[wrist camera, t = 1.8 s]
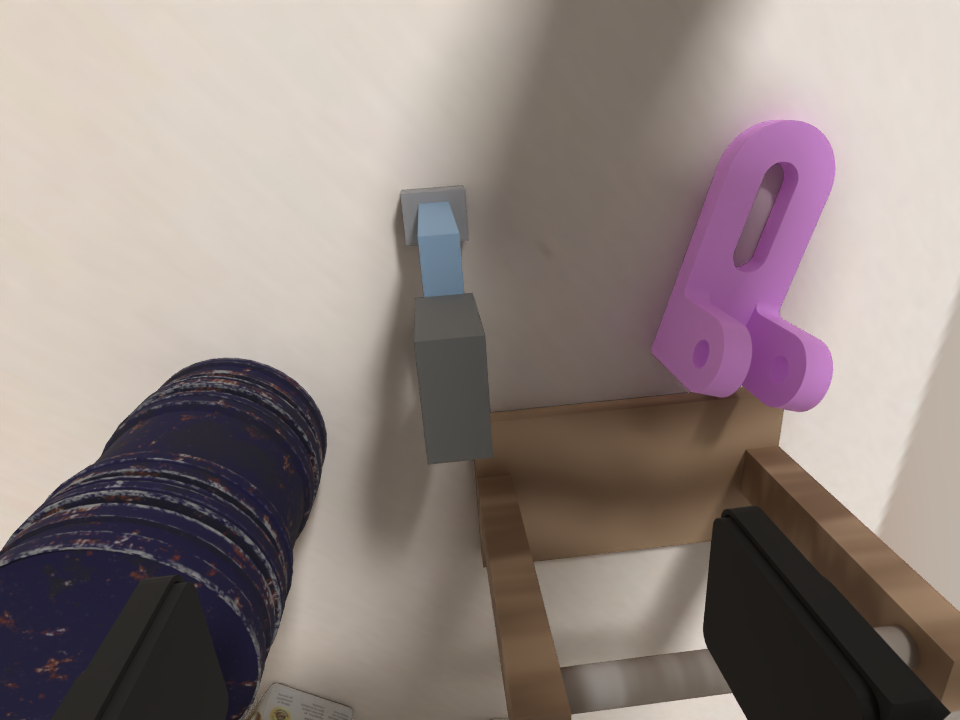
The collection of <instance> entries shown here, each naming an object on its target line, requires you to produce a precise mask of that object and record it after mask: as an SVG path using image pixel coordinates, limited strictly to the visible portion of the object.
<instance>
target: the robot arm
mask: <svg viewBox="0 0 960 720" xmlns="http://www.w3.org/2000/svg"><path fill="white" fill-rule="evenodd" d="M703 634H704V639H705V643H706V645H707V648H708V650H709V652H710V654H711V656H712V657H713V659H714V661H715V663H716V664H717V666H718V668H719V670H720V672H721V673H722V675H723V677H724V679H725V680H726V682H727V684H728V686H729V688H730V689H731V691H732V693H733V695H734V696H735V698H736V700H737V702H738V704H739V705H740V707H741V709H742V711H743V712H744V714H745V716H746V718H747V720H960V711H956V712H952V713H951V712H950V711H949V710H948V709H947V708H946V707H945V706H944V705H943V704H942V702H941V701H940V700H939V699H938V698H937V697H936V696H935V695H934V694H933V693H932V692H931V691H930V689H929V688H928V687H927V686H926V685H925V684H924V683H923V682H922V681H921V680H920V679H919V677H918V676H917V675H916V674H915V673H914V672H913V671H912V670H911V669H910V668H909V667H908V665H907V664H906V663H905V662H904V661H903V660H902V659H901V658H900V657H899V656H898V655H897V654H896V652H895V651H894V650H893V649H892V648H891V647H890V646H889V645H888V644H887V643H886V642H885V640H884V639H883V638H882V637H881V636H880V635H879V634H878V633H877V632H876V631H875V630H874V628H873V627H872V626H871V625H870V624H869V623H868V622H867V621H866V620H865V619H864V618H863V616H862V615H861V614H860V613H859V612H858V611H857V610H856V609H855V608H854V607H853V606H852V605H851V603H850V602H849V601H848V600H847V599H846V598H845V597H844V596H843V595H842V594H841V593H840V591H839V590H838V589H837V588H836V587H835V586H834V585H833V584H832V583H831V582H830V581H829V580H828V579H826V578H825V577H823V576H822V575H821V574H820V573H819V572H818V571H817V570H816V569H815V567H814V566H813V565H812V564H811V563H810V562H809V561H808V560H807V559H806V558H805V556H804V555H803V554H802V553H801V552H800V551H799V550H798V549H797V548H796V547H795V546H794V544H793V543H792V542H791V541H790V540H789V539H788V538H787V537H786V536H785V535H784V533H783V532H782V531H781V530H780V529H779V528H778V527H777V526H776V525H775V524H774V523H773V521H772V520H771V519H770V518H769V517H768V516H767V515H766V514H765V513H764V512H763V510H762V509H760V508H759V507H758V506H747V507H738V508H730V509H725V510H723V512H722V514H721V518H717V519H715V520H714V522H713V529H712V540H711V550H710V560H709V571H708V581H707V592H706V602H705V613H704V623H703ZM227 711H228V692H227V688H226V685H225V681H224V678H223V675H222V672H221V669H220V665H219V662H218V659H217V656H216V652H215V649H214V646H213V643H212V639H211V636H210V633H209V630H208V626H207V623H206V620H205V617H204V613H203V610H202V607H201V604H200V601H199V597H198V594H197V591H196V588H195V585H194V584H193V583H192V582H185V580H184V578H183V577H182V576H181V575H168V576H160V577H151V578H145V579H143V580H141V581H140V583H139V584H138V585H137V587H136V588H135V590H134V592H133V593H132V595H131V597H130V598H129V600H128V601H127V603H126V605H125V606H124V608H123V610H122V611H121V613H120V614H119V616H118V618H117V619H116V621H115V623H114V624H113V626H112V627H111V629H110V631H109V632H108V634H107V636H106V637H105V639H104V640H103V642H102V644H101V645H100V647H99V649H98V650H97V652H96V653H95V655H94V657H93V658H92V660H91V662H90V663H89V665H88V666H87V668H86V670H85V671H83V672H82V673H81V674H80V675H79V676H78V678H77V679H76V680H75V681H74V683H73V684H72V686H71V688H70V689H69V691H68V692H67V694H66V696H65V697H64V699H63V700H62V702H61V704H60V705H59V707H58V708H57V710H56V712H55V713H54V715H53V716H52V718H51V720H225V719H226V715H227Z"/></svg>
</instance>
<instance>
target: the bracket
mask: <svg viewBox="0 0 960 720" xmlns="http://www.w3.org/2000/svg"><path fill="white" fill-rule="evenodd" d="M776 163H779V164H780V165H781V166H782V168H783V171H784V180H783V183H782V186H781V188H780V191H779V193H778V196H777V198H776V201H775V203H774V206H773V208H772V210H771V213H770V215H769V218H768V220H767V223H766V225H765V228H764V230H763V233H762V235H761V238H760V240H759V243H758V245H757V248H756V250H755V253H754V255H753V257H752V258H751V260H750V261H749V262H747V263H746V264H745V265H743V266H740V267H736V266H735V264H734V261H733V255H734V251H735V249H736V246H737V244H738V241H739V239H740V236H741V233H742V231H743V228H744V226H745V223H746V221H747V218H748V215H749V213H750V210H751V208H752V205H753V203H754V200H755V198H756V195H757V192H758V190H759V187H760V185H761V182H762V180H763V177H764V175H765V173H766V172H767V170H768V169H769V168H770V167H771V166H773V165H774V164H776ZM834 176H835V159H834V154H833V150H832V147H831V145H830V143H829V141H828V140H827V138H826V137H825V135H824V134H823V133H822V132H821V131H820V130H818V129H817V128H816V127H814V126H812V125H810V124H808V123H805V122H802V121H793V120H774V121H767V122H762V123H759V124H757V125H754V126H752V127H750V128H749V129H747V130H745V131H744V132H743V133H741V134H740V135H739V136H738V137H737V138H735V139H734V140H733V142H732V143H731V144H730V145H729V146H728V148H727V149H726V150H725V152H724V154H723V155H722V157H721V159H720V161H719V164H718V166H717V169H716V171H715V174H714V177H713V180H712V183H711V185H710V188H709V191H708V194H707V196H706V199H705V202H704V205H703V207H702V210H701V213H700V216H699V219H698V221H697V224H696V227H695V230H694V232H693V235H692V238H691V241H690V243H689V246H688V249H687V252H686V255H685V257H684V260H683V263H682V266H681V268H680V271H679V274H678V277H677V280H676V282H675V285H674V288H673V291H672V293H671V296H670V299H669V302H668V304H667V307H666V310H665V313H664V316H663V318H662V321H661V324H660V327H659V329H658V332H657V335H656V338H655V340H654V343H653V346H652V349H651V353H652V354H653V355H654V356H655V357H656V358H657V359H658V360H659V361H660V362H661V363H662V364H663V365H664V366H665V367H666V368H667V369H668V370H669V371H670V372H671V373H672V374H673V375H674V376H675V377H676V378H677V379H678V380H679V381H680V382H681V383H682V384H683V385H684V386H685V387H686V388H687V389H688V390H689V391H691V392H694V393H699V394H705V395H710V396H715V397H721V398H722V397H728V396H730V395H732V394H733V393H734V392H735V391H736V390H737V389H738V388H739V387H740V386H741V385H742V386H743V387H744V388H746V389H747V390H748V391H749V392H750V393H752V394H753V395H754V396H755V397H756V398H758V399H759V400H760V401H761V402H762V403H764V404H765V405H767V406H770V407H774V408H779V409H785V410H790V411H795V412H804V411H808V410H810V409H812V408H813V407H815V406H816V405H817V404H818V403H819V402H820V401H821V400H822V399H823V397H824V396H825V394H826V393H827V390H828V388H829V386H830V383H831V379H832V373H833V362H832V356H831V353H830V351H829V349H828V347H827V346H826V345H825V343H823V342H822V341H821V340H819V339H818V338H816V337H814V336H812V335H810V334H808V333H807V332H805V331H803V330H801V329H799V328H798V327H796V326H794V325H792V324H790V323H789V322H787V321H785V320H783V319H782V318H781V317H780V307H781V305H782V303H783V300H784V298H785V296H786V293H787V291H788V289H789V287H790V284H791V282H792V280H793V277H794V275H795V273H796V270H797V268H798V266H799V263H800V261H801V259H802V256H803V254H804V252H805V250H806V247H807V245H808V243H809V240H810V238H811V236H812V233H813V231H814V229H815V226H816V224H817V222H818V220H819V217H820V215H821V213H822V210H823V208H824V206H825V203H826V201H827V199H828V196H829V194H830V191H831V189H832V185H833V182H834Z"/></svg>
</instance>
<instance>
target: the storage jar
mask: <svg viewBox="0 0 960 720" xmlns="http://www.w3.org/2000/svg"><path fill="white" fill-rule="evenodd" d="M326 447H327V433H326V429H325V424H324V420H323V418H322V415H321V413H320V410H319V409H318V407H317V405H316V404H315V402H314V400H313V399H312V398H311V396H310V395H309V394H308V393H307V392H306V390H305V389H304V388H303V387H302V386H300V385H299V384H298V383H297V382H296V381H295V380H294V379H292V378H290V377H289V376H287V375H286V374H284V373H283V372H281V371H279V370H277V369H275V368H273V367H271V366H269V365H266V364H262V363H259V362H256V361H252V360H246V359H240V358H218V359H209V360H206V361H202V362H198V363H195V364H193V365H190V366H188V367H186V368H184V369H182V370H180V371H179V372H177V373H176V374H174V375H173V376H172V377H171V378H170V379H168V380H167V381H166V382H165V383H164V384H163V385H162V386H161V387H160V388H159V389H158V390H157V391H156V392H154V393H153V394H151V395H150V396H149V397H148V398H146V399H145V400H144V401H143V402H142V403H141V404H140V405H139V406H138V407H137V408H136V409H135V410H134V411H133V412H132V413H131V414H130V415H129V416H128V417H127V418H126V419H125V420H124V421H123V422H122V423H121V424H120V425H119V426H118V428H117V429H116V431H115V432H114V434H113V435H112V437H111V438H110V440H109V441H108V442H107V444H106V446H105V448H104V450H103V453H102V455H101V457H100V458H99V459H98V460H97V461H96V462H95V463H94V464H93V465H90V466H88V467H87V468H85V469H84V470H82V471H80V472H79V473H77V474H76V475H74V476H73V477H71V478H70V479H68V480H67V481H65V482H64V483H62V484H61V485H60V486H59V487H58V488H57V489H56V490H55V491H54V492H53V493H52V494H51V495H49V497H48V498H47V499H46V501H45V502H44V503H43V504H42V505H41V506H40V507H39V508H38V509H37V510H36V511H35V512H34V513H33V514H32V515H31V516H30V517H29V518H28V519H27V520H26V521H25V522H24V523H23V524H22V525H21V526H20V527H19V528H18V529H17V530H16V531H15V532H14V533H13V534H12V535H11V537H10V538H9V540H8V541H7V543H6V544H5V546H4V547H3V549H2V550H1V551H0V720H51V718H52V716H53V715H54V713H55V712H56V710H57V708H58V707H59V705H60V704H61V702H62V700H63V699H64V697H65V696H66V694H67V692H68V691H69V689H70V688H71V686H72V684H73V683H74V681H75V680H76V679H77V678H78V676H79V675H80V674H81V673H82V672H83V671H85V670H86V668H87V666H88V665H89V663H90V662H91V660H92V658H93V657H94V655H95V653H96V652H97V650H98V649H99V647H100V645H101V644H102V642H103V640H104V639H105V637H106V636H107V634H108V632H109V631H110V629H111V627H112V626H113V624H114V623H115V621H116V619H117V618H118V616H119V614H120V613H121V611H122V610H123V608H124V606H125V605H126V603H127V601H128V600H129V598H130V597H131V595H132V593H133V592H134V590H135V588H136V587H137V585H138V584H139V583H140V581H141V580H143V579H145V578H151V577H160V576H168V575H181V576H182V577H183V578H184V580H185V582H192V583H193V584H194V585H195V588H196V591H197V594H198V597H199V601H200V604H201V607H202V610H203V613H204V617H205V620H206V623H207V626H208V630H209V633H210V636H211V639H212V643H213V646H214V649H215V652H216V656H217V659H218V662H219V665H220V669H221V672H222V675H223V678H224V681H225V685H226V688H227V692H228V711H227V715H226V719H225V720H242V719H243V718H244V716H245V715H246V713H247V712H248V710H249V708H250V707H251V705H252V704H253V702H254V699H255V696H256V693H257V691H258V688H259V685H260V681H261V678H262V674H263V671H264V666H265V661H266V658H267V656H268V653H269V650H270V647H271V645H272V643H273V642H274V639H275V636H276V634H277V631H278V628H279V625H280V621H281V618H282V614H283V610H284V607H285V601H286V598H287V596H288V593H289V590H290V587H291V581H292V574H293V547H294V544H295V541H296V539H297V538H298V537H299V535H300V533H301V532H302V530H303V528H304V527H305V524H306V521H307V520H308V517H309V514H310V511H311V508H312V505H313V503H314V500H315V497H316V494H317V491H318V487H319V484H320V478H321V471H322V468H321V467H322V464H323V462H324V458H325V454H326Z"/></svg>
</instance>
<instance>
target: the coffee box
mask: <svg viewBox="0 0 960 720" xmlns="http://www.w3.org/2000/svg"><path fill="white" fill-rule="evenodd" d="M352 715H353V710H352V709H351V708H349V707H346V706H343V705H340V704H337V703H334V702H332V701H329V700H326V699H323V698H320V697H317V696H314V695H311V694H308V693H305V692H302V691H299V690H296V689H293V688H290V687H287V686H284V685H281V684H278V683H275V684H272V685H271V686H270V688H269V689H268V690H267V692H266V693H265V695H264V696H263V698H262V699H261V700H260V702H259V703H258V705H257V706H256V707H255V709H254V710H253V712H252V713H251V715H250V716H249V718H248V719H247V720H352Z"/></svg>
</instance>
